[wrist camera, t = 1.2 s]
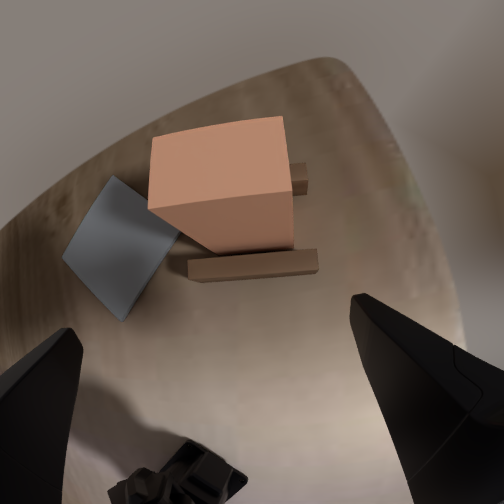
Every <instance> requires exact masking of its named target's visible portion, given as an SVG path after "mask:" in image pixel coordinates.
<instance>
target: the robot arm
mask: <svg viewBox="0 0 504 504" xmlns="http://www.w3.org/2000/svg"><path fill="white" fill-rule="evenodd" d="M350 324H351V328H352V331H353V334H354V338H355V341H356V344H357V348H358V351H359V355H360V358H361V361H362V365H363V367H364V370H365V373H366V375H367V377H368V380H369V382H370V385H371V387H372V389H373V392H374V394H375V397H376V399H377V402H378V404H379V407H380V409H381V412H382V414H383V417H384V420H385V422H386V425H387V427H388V430H389V433H390V435H391V438H392V441H393V443H394V446H395V449H396V451H397V454H398V457H399V460H400V463H401V465H402V468H403V471H404V474H405V477H406V480H407V483H408V486H409V489H410V492H411V496H412V499H413V502H414V504H504V371H503V370H501V369H499V368H497V367H495V366H493V365H491V364H489V363H487V362H485V361H483V360H481V359H479V358H477V357H475V356H473V355H472V354H470V353H468V352H466V351H465V350H463V349H461V348H460V347H458V346H456V345H453V344H452V343H451V342H449V341H448V340H446V339H444V338H442V337H441V336H439V335H437V334H436V333H434V332H432V331H431V330H429V329H427V328H425V327H424V326H422V325H420V324H419V323H417V322H415V321H413V320H412V319H410V318H408V317H406V316H405V315H403V314H401V313H399V312H398V311H396V310H394V309H392V308H391V307H389V306H387V305H386V304H384V303H382V302H380V301H378V300H377V299H375V298H373V297H371V296H370V295H368V294H366V293H362V294H356V295H353V296H352V298H351V306H350ZM82 358H83V346H82V344H81V342H80V341H79V339H78V337H77V335H76V334H75V332H74V330H73V329H72V328H61V329H59V330H58V331H57V332H55V333H54V334H53V335H51V336H50V337H49V338H47V339H46V340H45V341H44V342H42V343H41V344H40V345H38V346H37V347H36V348H34V349H33V350H32V351H31V352H29V353H28V354H27V355H25V356H24V357H23V358H22V359H20V360H19V361H18V362H17V363H15V364H14V365H13V366H12V367H10V368H9V369H8V370H7V371H5V372H4V373H3V374H2V375H0V504H62V486H63V475H64V466H65V458H66V451H67V444H68V437H69V431H70V426H71V420H72V415H73V410H74V405H75V400H76V396H77V391H78V385H79V377H80V370H81V364H82ZM188 444H189V445H191V446H192V447H189V446H188ZM240 479H244V481H241V480H240ZM247 482H248V477H247V476H245V475H244V474H242V473H240V472H239V471H237V470H235V469H234V468H233V467H232V466H230V465H229V464H227V463H225V462H224V461H222V460H221V459H219V458H218V457H216V456H215V455H213V454H212V453H210V452H208V451H206V450H205V449H203V448H202V447H200V446H199V445H197V444H196V443H195V442H193V441H191V440H188V441H186V442H185V443H184V444H183V446H182V447H181V448H180V449H179V450H178V451H177V453H176V454H175V455H174V456H173V457H172V458H171V459H170V460H169V462H168V463H167V464H166V465H165V466H164V467H163V468H162V469H161V470H160V472H159V473H155V472H153V471H150V470H148V469H146V468H144V467H143V468H139V469H137V470H136V471H135V472H134V473H133V474H132V475H131V476H130V477H129V478H128V479H126V480H123V481H120V482H118V483H117V485H116V486H114V487H112V488H111V489H109V490H108V491H107V492H108V495H109V498H110V501H111V504H225V502H226V501H227V500H229V499H230V498H231V497H232V496H233V495H234V494H236V493H237V492H238V491H239V490H240V489H241V488H242V487H244V486H245V485H246V484H247Z"/></svg>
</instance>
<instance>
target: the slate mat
mask: <svg viewBox="0 0 504 504" xmlns="http://www.w3.org/2000/svg"><path fill="white" fill-rule="evenodd" d="M180 234H181V231H180V230H178V229H177V228H175V227H174V226H172V225H171V224H169V223H168V222H166V221H165V220H163V219H162V218H160V217H159V216H157V215H155V214H154V213H152V212H151V211H149V210H148V200H146V199H145V198H144V197H142V196H141V195H139V194H138V193H137V192H135V191H134V190H133V189H131V188H130V187H129V186H127V185H126V184H124V183H123V182H122V181H120V180H119V179H118V178H116V177H115V176H114V175H112V177H111V178H110V180H109V181H108V182H107V184H106V185H105V187H104V188H103V190H102V191H101V193H100V194H99V196H98V197H97V199H96V200H95V202H94V203H93V205H92V206H91V208H90V210H89V211H88V213H87V214H86V216H85V218H84V219H83V221H82V223H81V224H80V226H79V228H78V229H77V231H76V233H75V234H74V236H73V238H72V240H71V241H70V243H69V245H68V247H67V249H66V250H65V252H64V254H63V256H62V259H63V260H64V261H65V262H66V263H67V265H68V266H69V267H70V268H71V269H72V270H73V272H74V273H75V274H76V275H77V276H78V277H79V278H80V279H81V281H82V282H83V283H84V284H85V285H86V286H87V287H88V288H89V289H90V290H91V292H92V293H93V294H94V295H95V296H96V297H97V298H98V299H99V300H100V301H101V302H102V303H103V304H104V305H105V306H106V307H107V308H108V309H109V310H110V311H111V312H112V313H113V314H114V315H115V316H116V317H117V318H118V319H119V320H120V321H121V322H123V321H124V320H125V318H126V316H127V315H128V313H129V311H130V310H131V308H132V307H133V305H134V303H135V302H136V300H137V299H138V297H139V295H140V294H141V292H142V291H143V289H144V288H145V286H146V284H147V283H148V281H149V280H150V278H151V277H152V275H153V274H154V272H155V271H156V269H157V268H158V266H159V265H160V263H161V262H162V260H163V259H164V257H165V256H166V254H167V253H168V251H169V250H170V248H171V247H172V245H173V244H174V242H175V241H176V240H177V238H178V237H179V235H180Z"/></svg>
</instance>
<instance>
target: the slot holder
mask: <svg viewBox="0 0 504 504" xmlns="http://www.w3.org/2000/svg"><path fill="white" fill-rule="evenodd" d="M289 168H290V176H291V184H292V196H298V195H307V188H308V175H307V168H306V163H297V164H289ZM318 270H319V266H318V256H317V249H306V250H294V251H283V252H272V253H261V254H250V255H238V256H227V257H216V258H204V259H193V260H188V280H192V281H196V282H200V283H205V282H220V281H234V280H247V279H260V278H273V277H284V276H296V275H307V274H316V273H317V271H318Z"/></svg>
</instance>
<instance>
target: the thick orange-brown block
mask: <svg viewBox="0 0 504 504" xmlns="http://www.w3.org/2000/svg"><path fill="white" fill-rule="evenodd" d="M148 210H149V211H151V212H152V213H154V214H155V215H157V216H159V217H160V218H162V219H163V220H165V221H166V222H168V223H169V224H171V225H172V226H174V227H175V228H177V229H178V230H180V231H181V232H183V233H184V234H186V235H187V236H189V237H191V238H192V239H194V240H195V241H197V242H198V243H200V244H201V245H203V246H204V247H206V248H208V249H209V250H211V251H212V252H214V253H215V254H217V255H227V254H238V253H250V252H261V251H272V250H283V249H294V233H293V196H292V184H291V176H290V168H289V160H288V153H287V145H286V138H285V131H284V124H283V118H282V116H277V117H267V118H259V119H251V120H244V121H237V122H230V123H224V124H218V125H212V126H206V127H201V128H196V129H191V130H186V131H181V132H176V133H172V134H167V135H163V136H158V137H154V138H153V142H152V152H151V163H150V177H149V192H148Z"/></svg>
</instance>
